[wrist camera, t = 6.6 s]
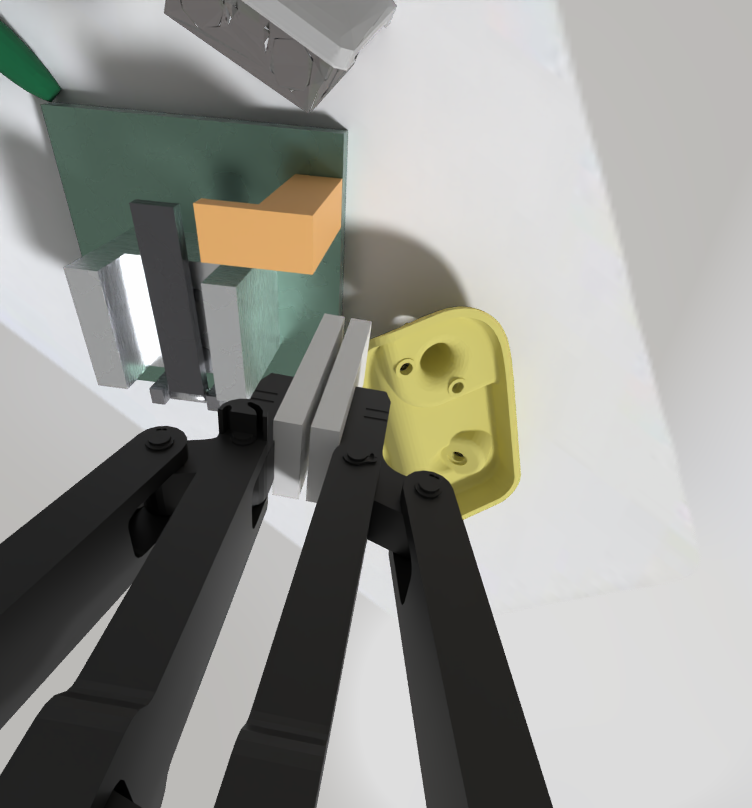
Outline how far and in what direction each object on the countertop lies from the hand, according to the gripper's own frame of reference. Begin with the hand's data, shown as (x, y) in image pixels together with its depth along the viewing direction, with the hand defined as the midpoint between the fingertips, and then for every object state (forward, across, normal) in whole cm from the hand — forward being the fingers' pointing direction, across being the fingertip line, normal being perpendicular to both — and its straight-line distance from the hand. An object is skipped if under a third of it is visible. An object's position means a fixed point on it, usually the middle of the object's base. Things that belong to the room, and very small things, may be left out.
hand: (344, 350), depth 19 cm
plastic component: (+19, -6, +14) cm, 24 cm away
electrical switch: (+19, +6, -11) cm, 23 cm away
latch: (+17, +6, -1) cm, 18 cm away
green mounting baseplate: (+19, +12, +6) cm, 23 cm away
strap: (+12, +12, +6) cm, 18 cm away
